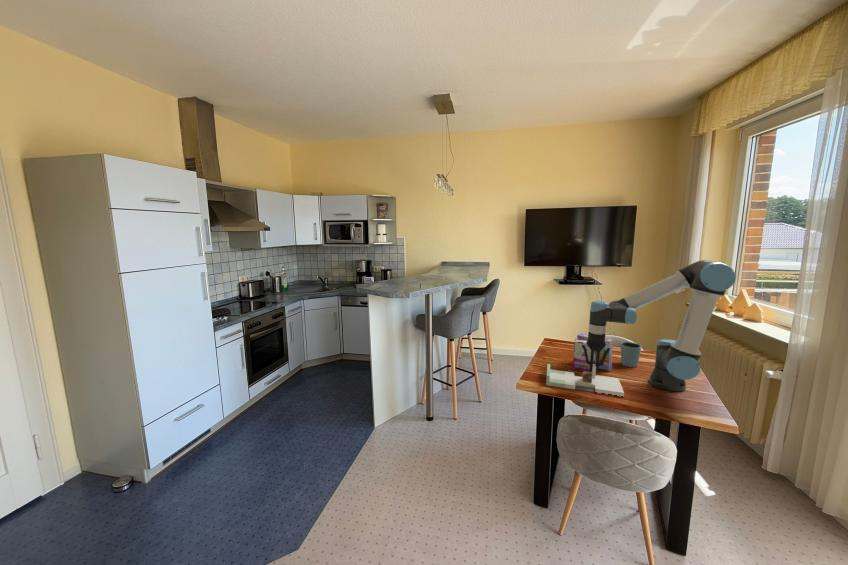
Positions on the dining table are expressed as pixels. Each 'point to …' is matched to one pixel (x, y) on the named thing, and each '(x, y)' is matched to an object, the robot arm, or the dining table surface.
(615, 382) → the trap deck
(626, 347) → the drinking glass
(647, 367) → the dining table surface
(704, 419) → the dining table surface
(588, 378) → the walnut block
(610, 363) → the cake pan box
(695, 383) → the dining table surface
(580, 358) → the candy bar box
